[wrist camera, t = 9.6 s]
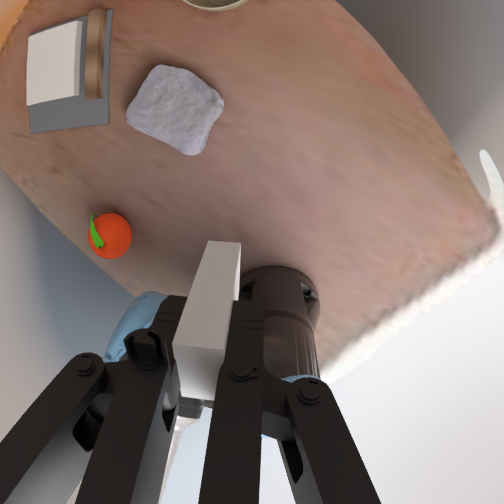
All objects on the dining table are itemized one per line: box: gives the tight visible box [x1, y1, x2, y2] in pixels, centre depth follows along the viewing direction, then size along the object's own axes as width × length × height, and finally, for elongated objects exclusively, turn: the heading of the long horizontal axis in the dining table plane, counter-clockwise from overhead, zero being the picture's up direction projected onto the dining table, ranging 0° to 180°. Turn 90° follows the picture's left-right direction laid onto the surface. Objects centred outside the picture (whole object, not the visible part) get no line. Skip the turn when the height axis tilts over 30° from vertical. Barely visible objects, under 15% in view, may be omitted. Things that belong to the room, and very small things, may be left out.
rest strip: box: [85, 8, 108, 101], centre depth 32 cm, size 14×2×2 cm, turn 177°
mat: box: [29, 9, 113, 134], centre depth 34 cm, size 18×16×1 cm
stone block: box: [126, 64, 224, 156], centre depth 37 cm, size 12×5×10 cm
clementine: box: [88, 213, 132, 259], centre depth 44 cm, size 8×7×7 cm
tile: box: [27, 21, 83, 106], centre depth 33 cm, size 12×2×10 cm
